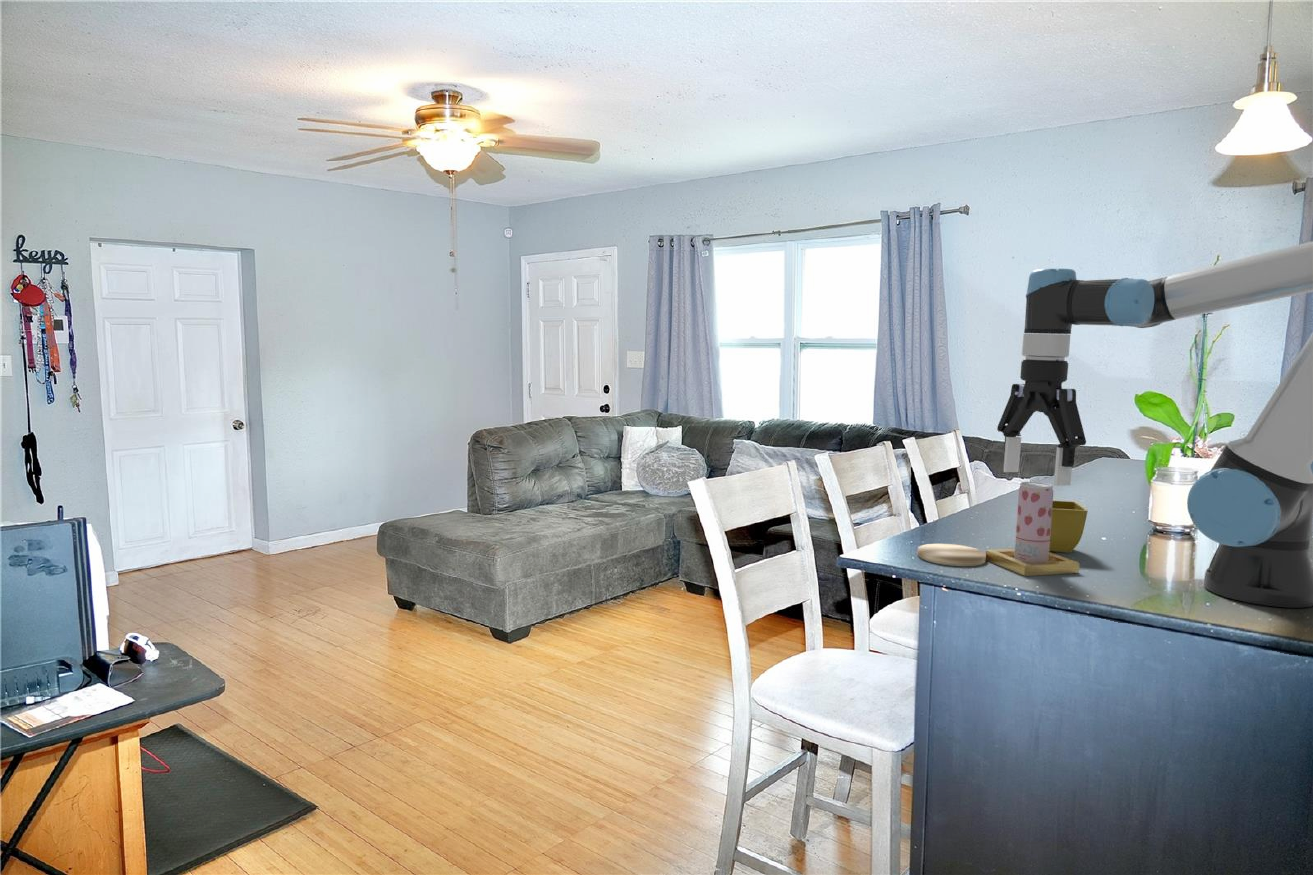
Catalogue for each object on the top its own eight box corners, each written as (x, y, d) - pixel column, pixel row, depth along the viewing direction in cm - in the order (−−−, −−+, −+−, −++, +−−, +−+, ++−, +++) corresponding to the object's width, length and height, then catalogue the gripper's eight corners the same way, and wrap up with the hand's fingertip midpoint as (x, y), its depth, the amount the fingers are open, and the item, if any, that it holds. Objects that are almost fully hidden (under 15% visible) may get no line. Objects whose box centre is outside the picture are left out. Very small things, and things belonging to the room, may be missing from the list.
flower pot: (1085, 556, 161) (1088, 510, 160) (1035, 553, 163) (1039, 507, 162) (1072, 545, 170) (1075, 501, 169) (1025, 543, 171) (1028, 499, 170)
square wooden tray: (1078, 572, 150) (1079, 562, 149) (1024, 576, 147) (1024, 565, 147) (1036, 557, 160) (1037, 547, 160) (985, 559, 158) (985, 550, 157)
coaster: (999, 564, 154) (999, 558, 154) (940, 567, 151) (940, 561, 151) (960, 548, 166) (961, 542, 166) (905, 551, 163) (905, 544, 163)
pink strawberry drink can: (1008, 565, 154) (1013, 483, 152) (1021, 560, 158) (1026, 480, 156) (1040, 572, 150) (1046, 488, 148) (1053, 566, 154) (1059, 484, 152)
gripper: (1117, 362, 138) (1105, 490, 141) (1017, 356, 162) (1009, 466, 165) (1077, 361, 136) (1066, 491, 139) (982, 355, 160) (974, 467, 163)
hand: (1035, 478), depth 152 cm, fingers open, 13 cm apart
